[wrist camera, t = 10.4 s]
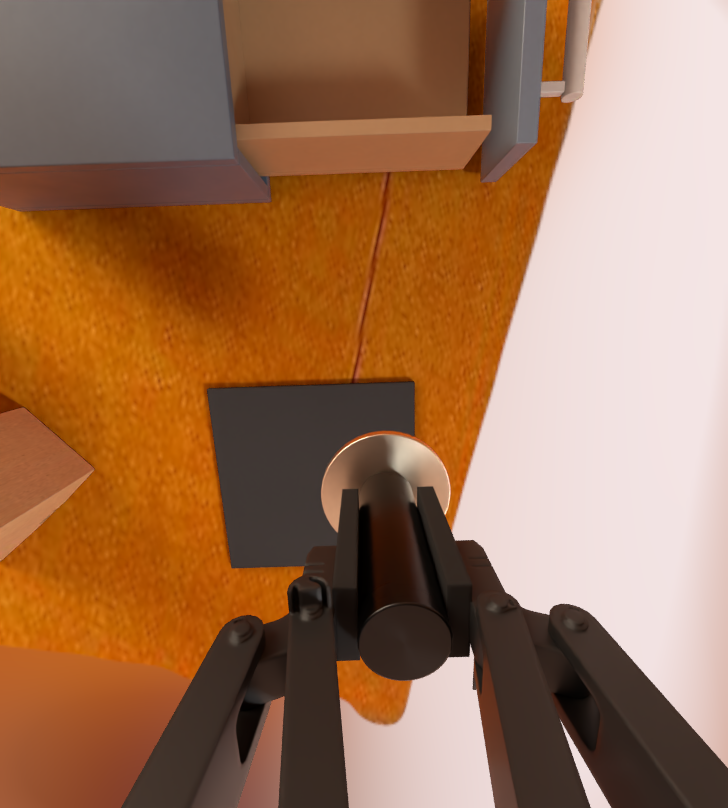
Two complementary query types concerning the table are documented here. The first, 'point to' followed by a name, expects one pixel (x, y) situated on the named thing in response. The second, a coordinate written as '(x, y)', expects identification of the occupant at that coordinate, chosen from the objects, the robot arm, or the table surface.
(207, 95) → the cabinet
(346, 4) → the drawer
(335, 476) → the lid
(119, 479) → the table surface
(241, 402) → the mat
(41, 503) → the sandwich container
